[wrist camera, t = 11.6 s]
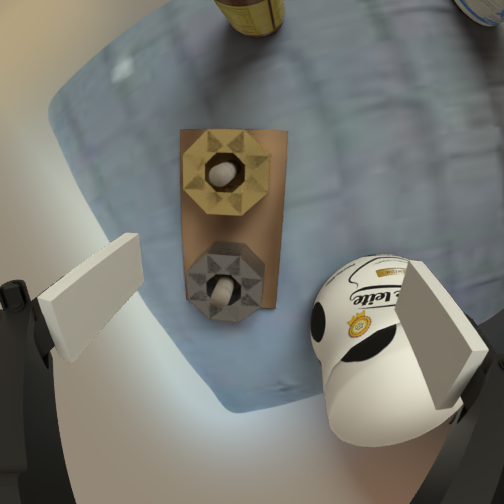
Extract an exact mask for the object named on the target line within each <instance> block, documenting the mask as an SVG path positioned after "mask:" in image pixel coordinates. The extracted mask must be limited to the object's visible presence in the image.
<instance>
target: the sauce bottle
mask: <svg viewBox="0 0 504 504" xmlns="http://www.w3.org/2000/svg"><path fill="white" fill-rule="evenodd" d="M214 1H215V3H216V4H217V6H218V7H219V9H220V10H221V11H222V13H223V14H224V15H225V17H226V18H227V19H228V21H229V22H230V24H231V25H232V26H233V28H235V29H236V30H237V31H238V32H240V33H242V34H245V35H247V36H251V37H255V38H258V37H264V36H266V35H269V34H271V33H274V32H275V31H277V30H278V29H279V28H280V26H281V24H282V21H283V18H284V14H285V12H284V3H283V0H214Z"/></svg>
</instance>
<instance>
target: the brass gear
mask: <svg viewBox="0 0 504 504" xmlns="http://www.w3.org/2000/svg"><path fill="white" fill-rule="evenodd" d="M222 153H234V154H235V155H236V156H237V157H238V158H239V159H240V160H241V161H242V162H243V163H244V164H245V181H244V182H243V183H242V184H241V185H239V186H226V185H225V186H221V187H218V186H215V185H213V184H212V183H211V181H210V179H209V172H210V170H211V169H212V168H213V167H214V160H215V159H216V158H217V157H219V156H220V155H221V154H222ZM271 157H272V154H271V153H270V152H269V151H268V150H267V148H266V147H265V146H264V145H263V144H262V143H261V142H260V141H259V140H258V139H257V138H256V137H255V136H254V135H253V134H252V133H251V132H250V131H249V130H238V129H208V130H207V131H205V132H204V133H203V134H202V136H201V137H200V138H199V139H198V140H197V141H196V142H195V143H194V144H193V145H192V146H191V147H190V148H189V149H188V150H187V151H186V152H185V153H184V154H183V189H184V190H185V191H186V192H187V194H188V195H189V196H190V197H191V198H192V199H193V200H194V201H195V202H196V203H197V204H198V205H199V206H200V207H201V208H202V209H203V210H204V211H205V212H206V213H207V214H219V215H237V216H242V215H243V214H244V213H245V212H246V211H248V210H249V209H250V208H251V207H252V206H253V205H254V204H255V203H257V202H258V201H259V200H260V199H261V198H262V197H263V196H265V195H266V194H267V193H268V191H269V188H270V178H271Z"/></svg>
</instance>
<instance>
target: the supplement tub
mask: <svg viewBox="0 0 504 504" xmlns="http://www.w3.org/2000/svg"><path fill="white" fill-rule="evenodd" d="M454 1H455V2H456V4H457V5H458V6H459V7H460V9H461V10H462V11H463V12H464V13H465V14H466V15H468V16H469V17H470V18H471V19H473V20H474V21H476V22H477V23H479V24H481V25H484V26H495V25H498V24H500V23H503V22H504V0H454Z"/></svg>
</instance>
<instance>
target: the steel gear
mask: <svg viewBox="0 0 504 504" xmlns="http://www.w3.org/2000/svg"><path fill="white" fill-rule="evenodd" d="M215 274H224V275H231V276H232V277H233V278H234V279H235V280H236V281H237V282H238V283H239V284H240V285H241V286H239V287H238V288H237V289H233V292H232V294H231V297H230V300H229V303H228V305H227V306H225V307H217V306H215V305H214V304H213V303H212V301H211V295H212V293H213V291H214V289H215V287H216V284H217V281H216V280H215V279H214V275H215ZM186 275H187V288H188V299H189V300H190V301H191V302H192V303H193V304H194V305H195V306H196V307H197V308H198V309H199V310H200V311H201V312H202V313H204V314H205V315H206V316H207V317H208V318H209V319H213V320H222V321H230V322H240V321H241V320H243V319H244V318H246V317H247V316H249V315H250V314H251V313H253V312H254V311H256V310H257V309H259V308H260V307H261V303H262V296H263V290H264V275H265V263H264V262H263V261H262V260H261V259H260V258H259V257H258V256H257V255H256V254H255V253H254V252H253V251H252V250H251V249H250V248H249V247H248V246H247V245H246V244H245V243H237V242H224V241H215V242H214V243H213V244H212V245H210V246H209V247H208V248H207V249H206V250H205V251H204V252H203V253H202V254H201V255H199V256H198V257H197V258H196V259H195V261H194V262H193V264H192V265H191V267H190V268H189V270H188V271H187V272H186Z"/></svg>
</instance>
